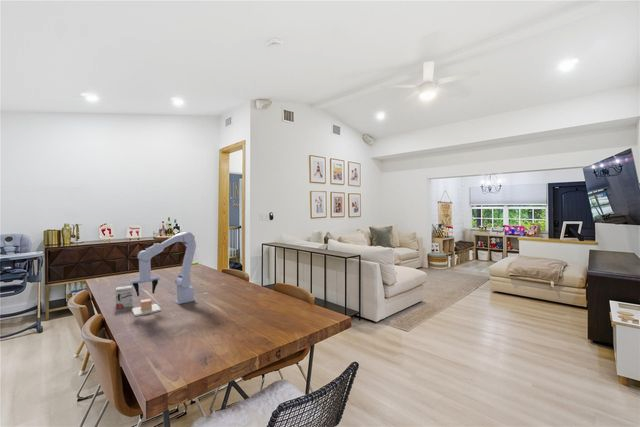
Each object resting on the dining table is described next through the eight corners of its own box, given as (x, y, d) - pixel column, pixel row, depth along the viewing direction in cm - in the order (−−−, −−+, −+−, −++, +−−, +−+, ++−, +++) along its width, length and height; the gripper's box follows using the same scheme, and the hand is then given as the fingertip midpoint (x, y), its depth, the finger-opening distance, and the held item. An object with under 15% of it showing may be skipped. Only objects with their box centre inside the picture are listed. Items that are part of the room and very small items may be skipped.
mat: (156, 305, 180) (156, 303, 180) (161, 311, 170) (161, 309, 170) (131, 310, 172) (131, 308, 172) (134, 316, 162) (134, 314, 162)
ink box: (115, 309, 174) (115, 289, 174) (116, 306, 178) (115, 287, 178) (132, 306, 179) (132, 286, 179) (132, 303, 183) (132, 285, 183)
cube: (150, 306, 174) (150, 298, 174) (151, 309, 171) (151, 300, 170) (140, 308, 171) (140, 300, 171) (141, 311, 167) (141, 302, 167)
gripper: (131, 274, 163) (132, 298, 163) (160, 270, 172) (161, 293, 172) (129, 272, 168) (130, 295, 169) (158, 268, 177) (158, 290, 178)
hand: (145, 294), depth 171 cm, fingers open, 7 cm apart
